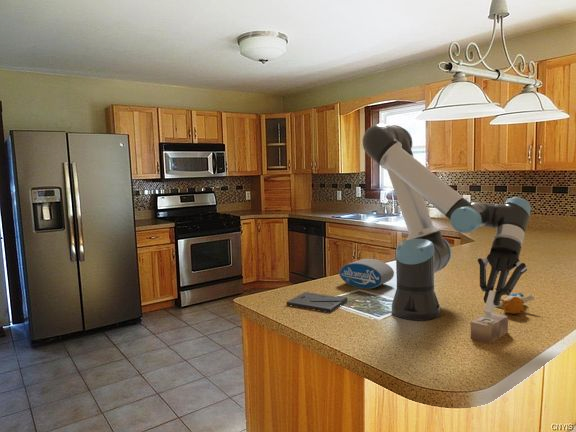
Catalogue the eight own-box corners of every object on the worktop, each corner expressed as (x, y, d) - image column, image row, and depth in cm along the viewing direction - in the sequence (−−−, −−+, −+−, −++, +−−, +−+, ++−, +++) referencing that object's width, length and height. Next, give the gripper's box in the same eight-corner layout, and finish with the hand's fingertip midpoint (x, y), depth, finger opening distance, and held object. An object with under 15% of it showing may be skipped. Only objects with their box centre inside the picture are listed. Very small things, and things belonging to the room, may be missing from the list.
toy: (532, 285, 137) (528, 292, 124) (539, 303, 135) (536, 312, 123) (495, 294, 143) (487, 301, 131) (501, 311, 142) (494, 320, 130)
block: (489, 311, 119) (470, 320, 112) (507, 315, 115) (489, 325, 108) (489, 328, 119) (470, 339, 113) (507, 333, 115) (489, 344, 109)
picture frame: (347, 303, 149) (305, 296, 159) (347, 297, 149) (305, 291, 158) (330, 314, 138) (286, 307, 147) (330, 308, 138) (286, 301, 147)
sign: (394, 285, 166) (393, 261, 165) (382, 291, 159) (381, 266, 158) (352, 279, 179) (351, 256, 178) (339, 284, 172) (338, 260, 171)
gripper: (534, 253, 119) (517, 326, 109) (486, 248, 128) (466, 315, 118) (530, 237, 115) (511, 312, 104) (481, 234, 123) (459, 302, 113)
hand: (487, 313), depth 111 cm, fingers closed
